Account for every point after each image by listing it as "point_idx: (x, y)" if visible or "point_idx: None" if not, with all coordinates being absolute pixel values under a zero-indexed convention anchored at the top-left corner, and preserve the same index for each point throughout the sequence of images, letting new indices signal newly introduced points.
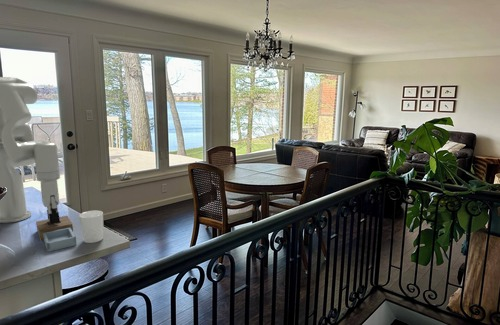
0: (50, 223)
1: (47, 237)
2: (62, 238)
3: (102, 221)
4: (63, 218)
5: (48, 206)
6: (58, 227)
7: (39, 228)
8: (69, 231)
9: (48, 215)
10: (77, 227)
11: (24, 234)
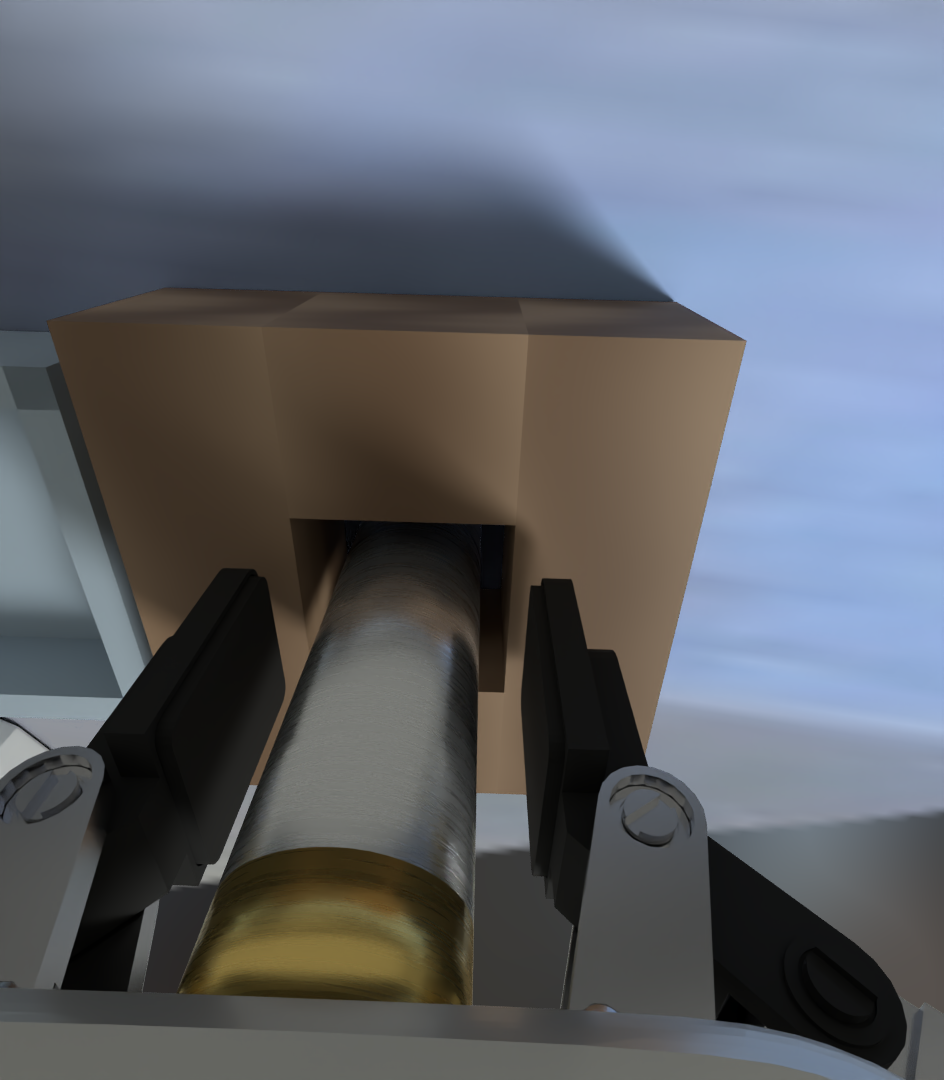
0: (225, 571)
1: None
2: (23, 559)
3: None
4: None
5: (224, 966)
6: (157, 619)
7: (174, 343)
8: (36, 685)
9: (536, 643)
10: None
11: (667, 43)
